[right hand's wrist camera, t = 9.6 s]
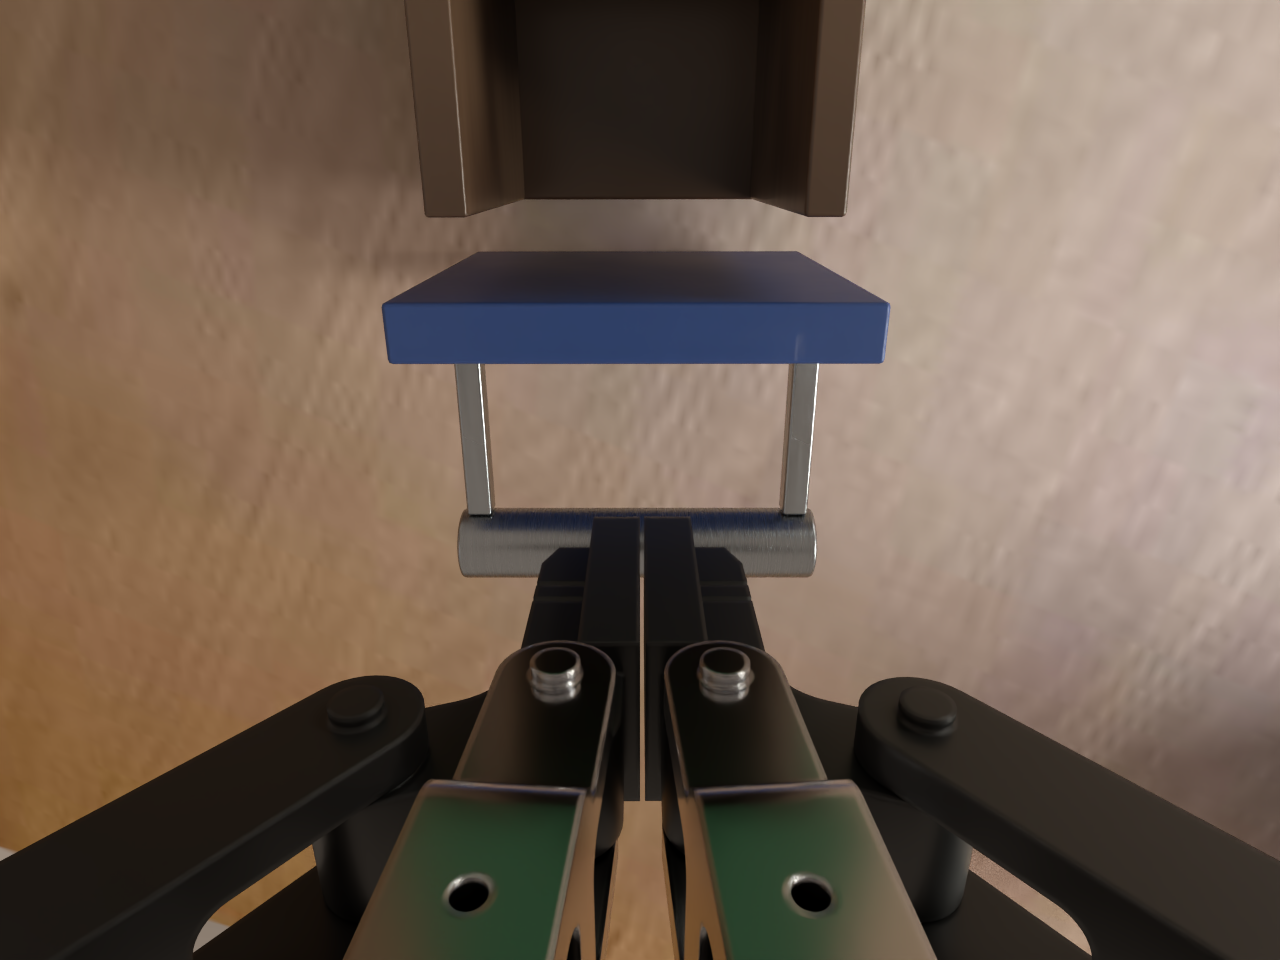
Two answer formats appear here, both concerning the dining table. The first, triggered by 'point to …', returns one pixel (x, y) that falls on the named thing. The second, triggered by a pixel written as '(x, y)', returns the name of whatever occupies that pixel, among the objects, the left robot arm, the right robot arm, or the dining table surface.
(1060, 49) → the dining table surface
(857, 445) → the dining table surface
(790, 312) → the drawer
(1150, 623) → the dining table surface
